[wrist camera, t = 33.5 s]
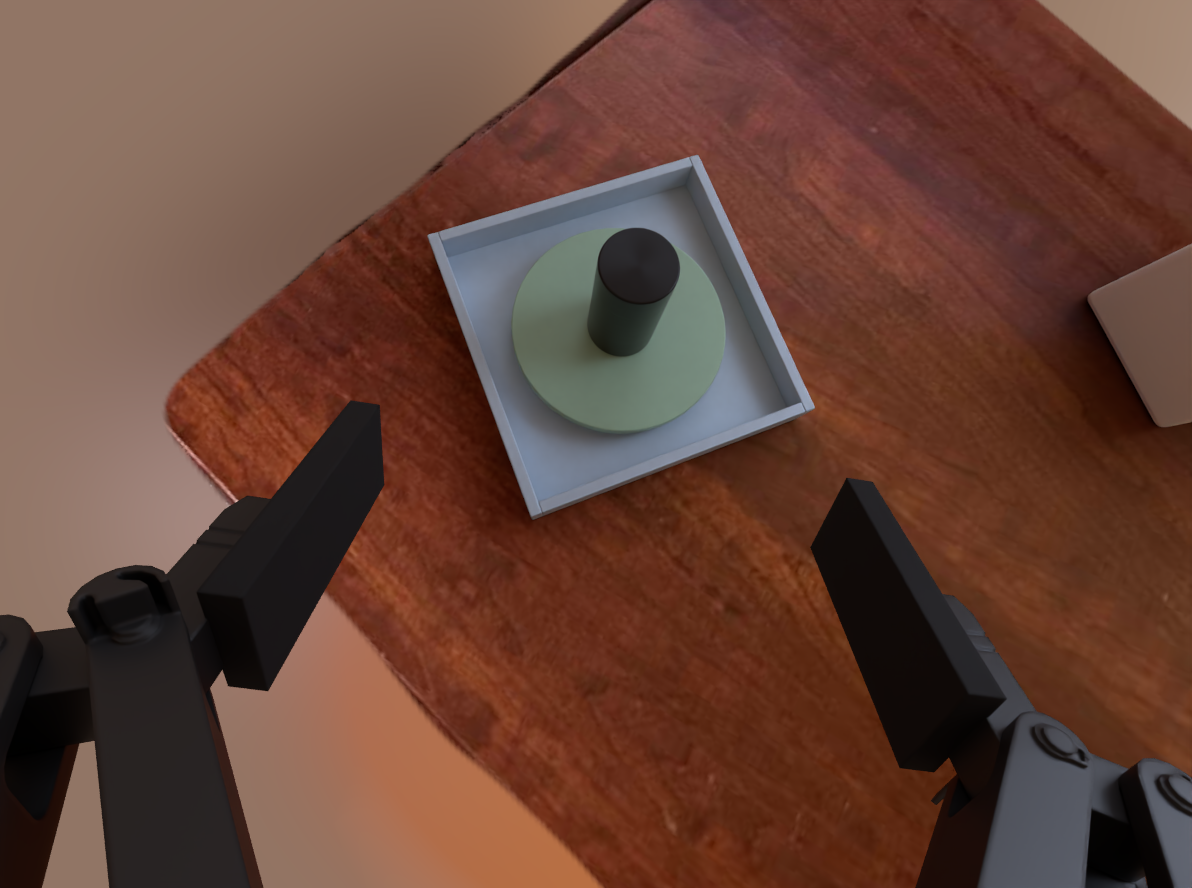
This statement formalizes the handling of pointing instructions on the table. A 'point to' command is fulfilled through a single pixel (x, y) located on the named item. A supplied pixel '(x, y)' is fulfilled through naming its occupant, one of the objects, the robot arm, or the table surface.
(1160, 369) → the container
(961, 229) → the table surface
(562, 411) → the lid
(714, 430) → the tray
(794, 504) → the table surface
